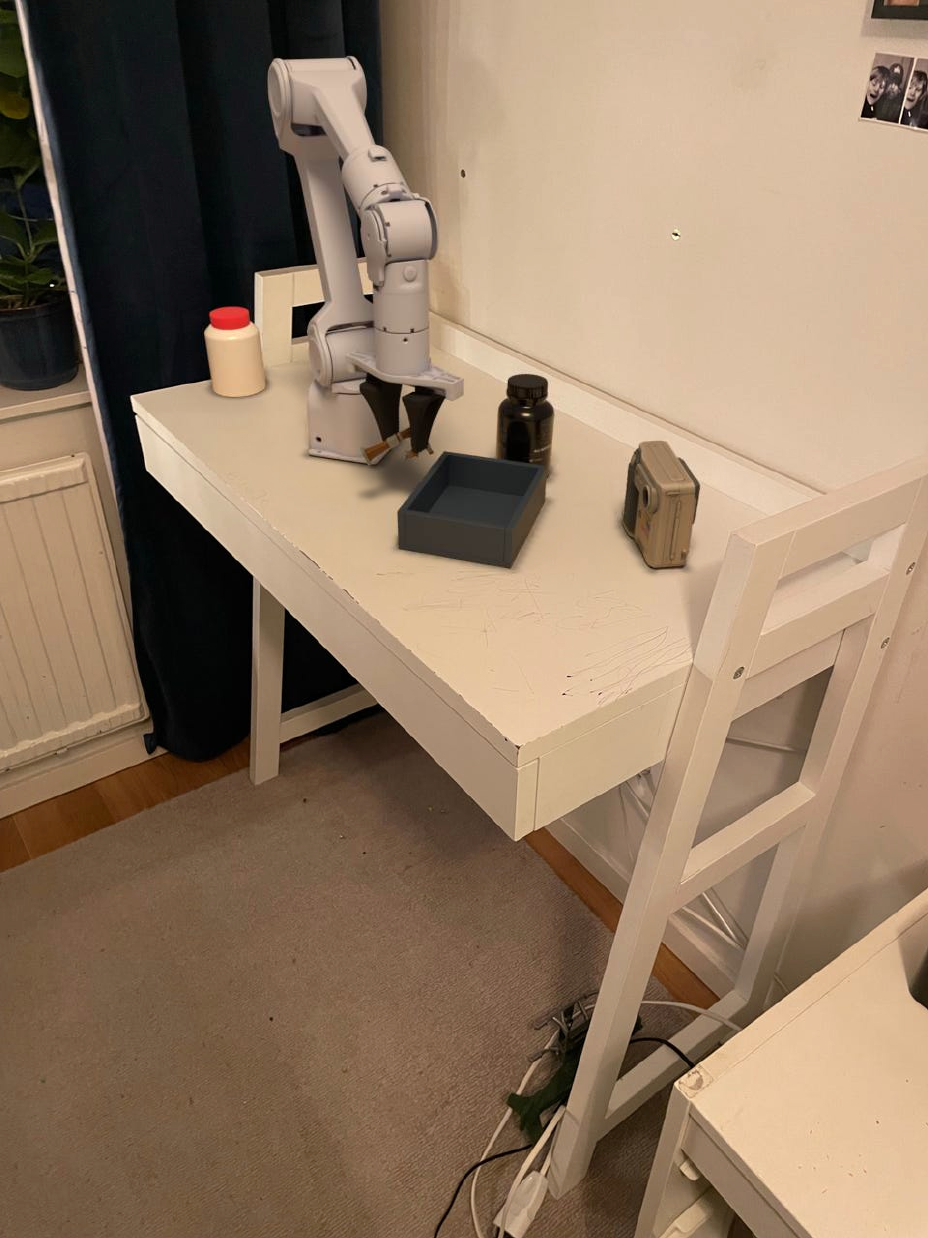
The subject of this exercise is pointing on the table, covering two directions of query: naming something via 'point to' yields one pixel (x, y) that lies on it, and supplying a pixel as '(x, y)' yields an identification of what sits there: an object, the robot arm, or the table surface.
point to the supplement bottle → (525, 421)
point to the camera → (660, 504)
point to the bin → (473, 509)
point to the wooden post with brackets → (390, 443)
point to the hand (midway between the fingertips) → (405, 445)
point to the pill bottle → (234, 353)
